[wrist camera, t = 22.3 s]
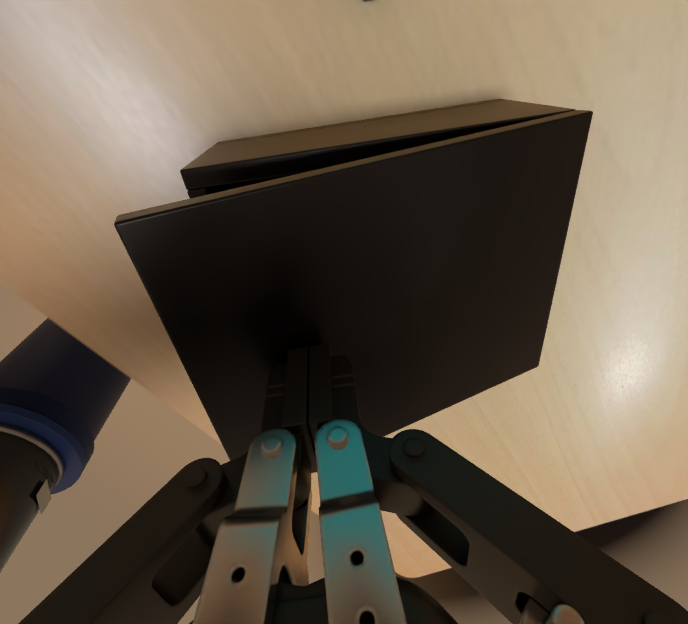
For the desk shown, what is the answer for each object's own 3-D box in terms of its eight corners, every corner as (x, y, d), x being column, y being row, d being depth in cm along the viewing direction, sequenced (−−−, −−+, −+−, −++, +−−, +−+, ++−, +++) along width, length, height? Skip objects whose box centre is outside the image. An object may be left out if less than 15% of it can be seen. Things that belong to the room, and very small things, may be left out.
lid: (245, 483, 17) (248, 498, 16) (115, 214, 10) (112, 223, 9) (527, 358, 21) (538, 366, 20) (575, 109, 14) (594, 110, 13)
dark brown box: (271, 328, 27) (260, 396, 21) (216, 142, 20) (178, 169, 14) (483, 296, 27) (529, 357, 21) (501, 98, 20) (577, 109, 14)
